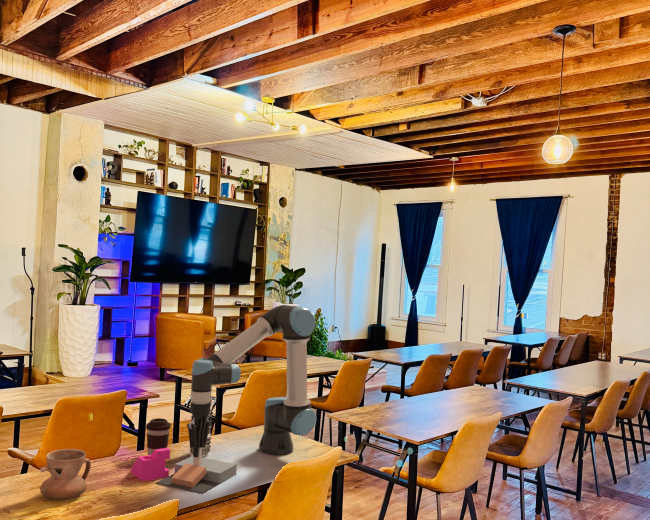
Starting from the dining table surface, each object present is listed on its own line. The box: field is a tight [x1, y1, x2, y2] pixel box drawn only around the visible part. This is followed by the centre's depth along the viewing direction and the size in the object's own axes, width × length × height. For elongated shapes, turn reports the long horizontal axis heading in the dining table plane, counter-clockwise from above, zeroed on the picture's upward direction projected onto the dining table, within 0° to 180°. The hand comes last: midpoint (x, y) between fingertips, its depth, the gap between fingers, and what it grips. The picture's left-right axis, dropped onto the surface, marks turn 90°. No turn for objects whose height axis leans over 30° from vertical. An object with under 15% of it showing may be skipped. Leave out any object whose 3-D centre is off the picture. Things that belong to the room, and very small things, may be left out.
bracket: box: [130, 447, 171, 482], centre depth 230 cm, size 12×10×10 cm
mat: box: [155, 473, 228, 495], centre depth 224 cm, size 16×20×1 cm
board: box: [173, 455, 238, 484], centre depth 232 cm, size 12×20×4 cm, turn 68°
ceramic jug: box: [39, 448, 92, 501], centre depth 205 cm, size 18×14×14 cm
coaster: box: [172, 463, 207, 488], centre depth 222 cm, size 9×9×2 cm
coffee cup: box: [145, 417, 172, 455], centre depth 251 cm, size 10×10×15 cm
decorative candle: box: [189, 397, 214, 458], centre depth 257 cm, size 9×9×25 cm
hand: (197, 465), depth 227 cm, fingers closed
